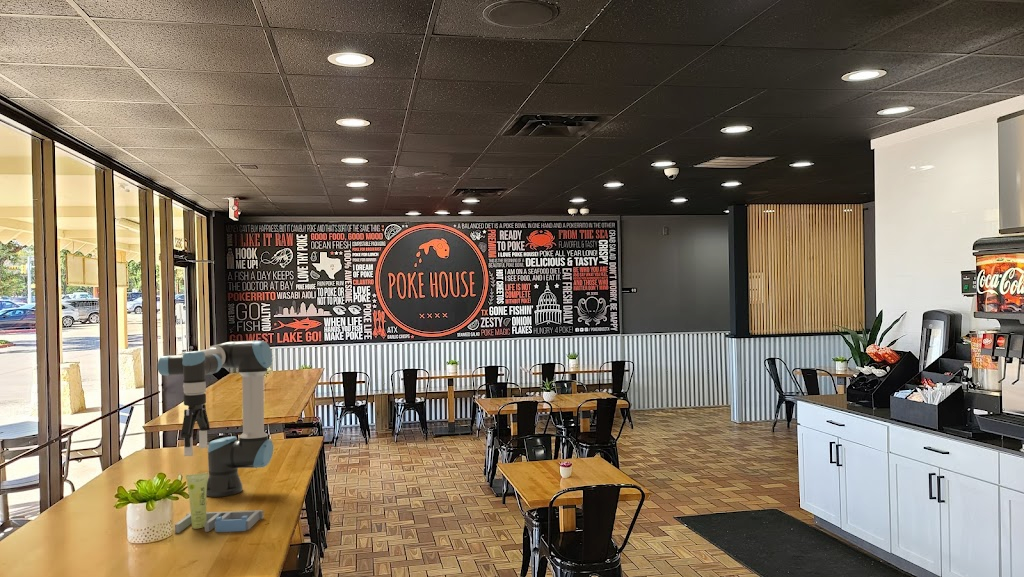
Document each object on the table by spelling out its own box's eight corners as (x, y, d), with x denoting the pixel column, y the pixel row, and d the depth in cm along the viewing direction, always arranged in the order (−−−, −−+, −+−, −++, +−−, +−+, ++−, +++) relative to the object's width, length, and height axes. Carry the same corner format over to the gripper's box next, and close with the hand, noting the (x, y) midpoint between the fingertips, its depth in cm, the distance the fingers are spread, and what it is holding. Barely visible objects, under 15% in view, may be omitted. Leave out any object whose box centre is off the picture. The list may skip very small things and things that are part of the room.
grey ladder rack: (188, 521, 280) (187, 508, 280) (263, 518, 281) (262, 505, 281) (170, 533, 265) (170, 520, 265) (250, 530, 266) (250, 517, 266)
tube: (196, 530, 268) (194, 476, 268) (187, 528, 271) (185, 474, 271) (209, 525, 273) (208, 472, 273) (200, 524, 275) (199, 471, 276)
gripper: (197, 389, 285) (199, 445, 284) (169, 398, 260) (171, 459, 259) (217, 389, 285) (219, 444, 285) (191, 397, 260) (193, 458, 260)
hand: (196, 452), depth 272 cm, fingers open, 13 cm apart
